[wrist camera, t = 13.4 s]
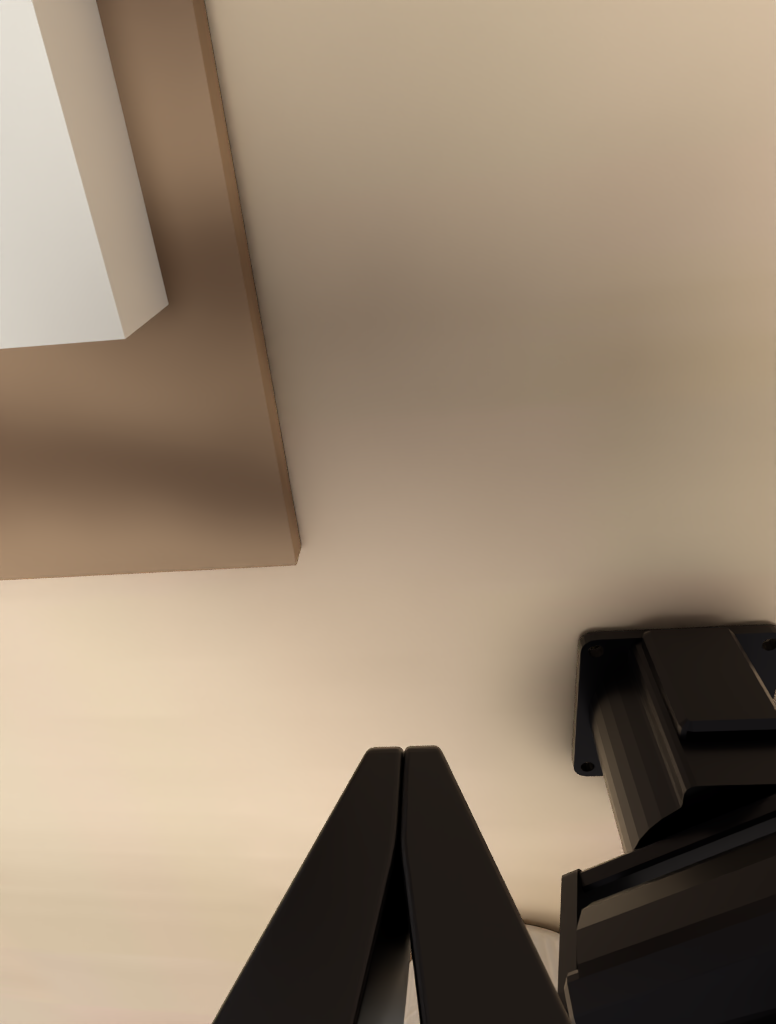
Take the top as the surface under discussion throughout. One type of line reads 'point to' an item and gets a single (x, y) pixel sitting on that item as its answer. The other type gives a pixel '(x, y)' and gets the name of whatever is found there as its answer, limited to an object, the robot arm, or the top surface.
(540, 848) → the top surface
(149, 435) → the walnut board
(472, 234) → the top surface
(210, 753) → the top surface
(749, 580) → the top surface
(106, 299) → the socket
